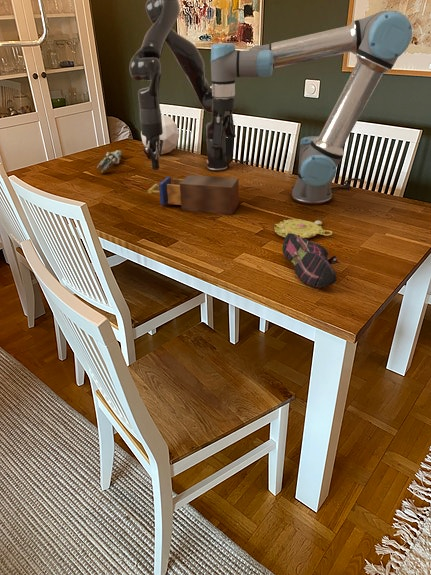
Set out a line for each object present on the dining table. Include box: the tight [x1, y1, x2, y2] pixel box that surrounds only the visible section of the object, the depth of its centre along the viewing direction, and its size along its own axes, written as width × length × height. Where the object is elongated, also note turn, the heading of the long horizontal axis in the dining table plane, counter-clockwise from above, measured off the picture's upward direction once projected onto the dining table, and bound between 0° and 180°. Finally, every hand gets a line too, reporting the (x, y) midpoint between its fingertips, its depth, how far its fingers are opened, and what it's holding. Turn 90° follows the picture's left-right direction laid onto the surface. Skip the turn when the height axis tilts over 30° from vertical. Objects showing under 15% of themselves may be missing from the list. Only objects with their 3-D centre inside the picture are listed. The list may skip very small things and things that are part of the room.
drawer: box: [147, 176, 185, 206], centre depth 167 cm, size 23×9×8 cm, turn 73°
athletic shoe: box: [282, 233, 341, 288], centre depth 122 cm, size 11×22×12 cm
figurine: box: [96, 150, 123, 174], centre depth 213 cm, size 7×8×30 cm
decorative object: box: [273, 218, 333, 239], centre depth 145 cm, size 21×2×20 cm
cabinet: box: [180, 174, 240, 216], centre depth 164 cm, size 19×10×10 cm, turn 74°
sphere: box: [140, 113, 180, 155], centre depth 225 cm, size 19×20×20 cm
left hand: (155, 169), depth 165 cm, fingers closed
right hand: (224, 161), depth 156 cm, fingers open, 13 cm apart
